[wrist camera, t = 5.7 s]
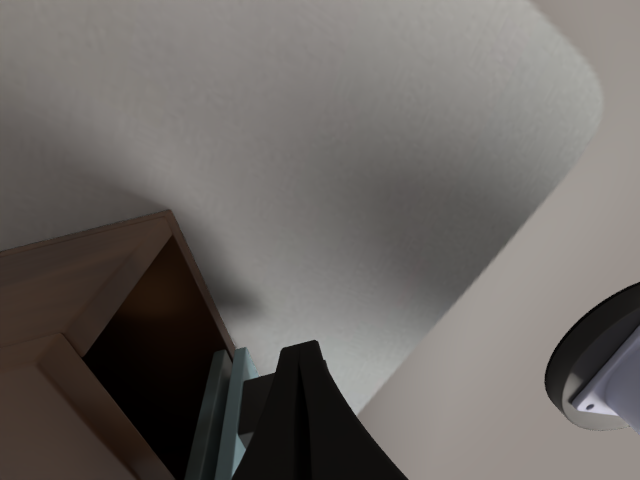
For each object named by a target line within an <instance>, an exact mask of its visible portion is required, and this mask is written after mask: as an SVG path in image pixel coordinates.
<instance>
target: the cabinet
mask: <svg viewBox="0 0 640 480" xmlns="http://www.w3.org/2000/svg"><path fill="white" fill-rule="evenodd" d="M235 350H236V349H235V347H234V345H233V343H232V341H231V339H230V336H229V334H228V332H227V330H226V328H225V326H224V323H223V321H222V319H221V317H220V315H219V312H218V310H217V308H216V306H215V304H214V302H213V299H212V297H211V295H210V293H209V291H208V289H207V286H206V284H205V282H204V280H203V278H202V276H201V273H200V271H199V269H198V267H197V265H196V263H195V260H194V258H193V256H192V254H191V252H190V250H189V247H188V245H187V243H186V241H185V239H184V237H183V234H182V232H181V230H180V228H179V226H178V224H177V221H176V219H175V217H174V215H173V213H172V211H171V210H166V211H162V212H158V213H154V214H150V215H146V216H142V217H138V218H134V219H130V220H126V221H122V222H118V223H114V224H110V225H106V226H102V227H98V228H94V229H90V230H86V231H82V232H78V233H74V234H69V235H65V236H61V237H57V238H53V239H49V240H45V241H41V242H37V243H33V244H29V245H25V246H21V247H17V248H13V249H9V250H5V251H1V252H0V480H214V479H215V473H216V466H217V460H218V454H219V447H220V441H221V435H222V428H223V422H224V416H225V409H226V403H227V397H228V390H229V384H230V378H231V371H232V365H233V358H234V352H235Z"/></svg>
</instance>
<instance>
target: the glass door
mask: <svg viewBox="0 0 640 480" xmlns="http://www.w3.org/2000/svg"><path fill="white" fill-rule="evenodd" d="M324 362H325V364H326V361H325V360H324ZM326 366H327V364H326ZM327 369H328V367H327ZM328 371H329V370H328ZM274 375H275V373H272V374H268V375H264V376H261V377H259V375H258V373H257V370H256V368H255V366H254V364H253V361H252V359H251V357H250V354H249V352H248V350H247V348H246V347H244V348H240V349H236V350H235V352H234V358H233V365H232V371H231V378H230V384H229V390H228V397H227V403H226V409H225V416H224V422H223V428H222V435H221V441H220V447H219V454H218V460H217V466H216V473H215V479H214V480H231V478H232V476H233V475H234V473H235V471H236V469H237V467H238V465H239V463H240V461H241V459H242V457H243V455H244V453H245V451H246V449H247V447H248V444H249V442H250V440H251V438H252V435H253V433H254V431H255V429H256V426H257V424H258V421H259V418H260V416H261V413H262V411H263V408H264V406H265V403H266V400H267V397H268V394H269V391H270V388H271V385H272V382H273V379H274Z"/></svg>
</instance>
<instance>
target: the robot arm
mask: <svg viewBox="0 0 640 480" xmlns="http://www.w3.org/2000/svg"><path fill="white" fill-rule="evenodd" d="M572 406H573V407H574V408H575V409H576V410H578V411H583V412H591V413H599V414H608V415H616V416H620V417H621V418H622V419H623V420H624V421H625V422H626V423H627V424H628V425H629V426H630V427H631V428H632V429H634V430H635V431H636V432H637V433H638V434H639V435H640V325H639V326H638V327H637V328H636V329H635V330H634V331H633V333H632V334H631V335H630V336H629V337H628V338H627V339H626V341H625V342H624V343H623V344H622V345H621V346H620V347H619V349H618V350H617V351H616V352H615V353H614V354H613V355H612V357H611V358H610V359H609V360H608V361H607V362H606V363H605V364H604V366H603V367H602V368H601V369H600V370H599V371H598V372H597V374H596V375H595V376H594V377H593V378H592V379H591V380H590V382H589V383H588V384H587V385H586V386H585V387H584V388H583V390H582V391H581V392H580V393H579V394H578V395H577V396H576V397H575V399H574V400H573V401H572ZM231 480H408V478H407V477H406V476H405V475H404V474H403V473H402V472H401V471H400V470H399V469H398V468H397V466H396V465H395V464H394V463H393V462H392V461H391V460H390V458H389V457H388V456H387V455H386V454H385V452H384V451H383V450H382V449H381V448H380V447H379V446H378V444H377V443H376V442H375V441H374V439H373V438H372V437H371V435H370V434H369V433H368V432H367V430H366V429H365V428H364V426H363V425H362V424H361V422H360V421H359V419H358V418H357V417H356V415H355V414H354V412H353V411H352V409H351V408H350V406H349V405H348V403H347V402H346V400H345V399H344V397H343V396H342V394H341V392H340V391H339V389H338V387H337V385H336V384H335V382H334V380H333V378H332V376H331V375H330V373H329V371H328V369H327V366H326V364H325V362H324V360H323V357H322V353H321V350H320V346H319V343H318V341H316V340H312V341H308V342H304V343H300V344H296V345H293V346H289V347H285V348H282V350H281V351H280V356H279V361H278V365H277V368H276V372H275V375H274V379H273V382H272V385H271V388H270V391H269V394H268V397H267V400H266V403H265V406H264V408H263V411H262V413H261V416H260V418H259V421H258V424H257V426H256V429H255V431H254V433H253V435H252V438H251V440H250V442H249V444H248V447H247V449H246V451H245V453H244V455H243V457H242V459H241V461H240V463H239V465H238V467H237V469H236V471H235V473H234V475H233V476H232V478H231Z"/></svg>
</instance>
